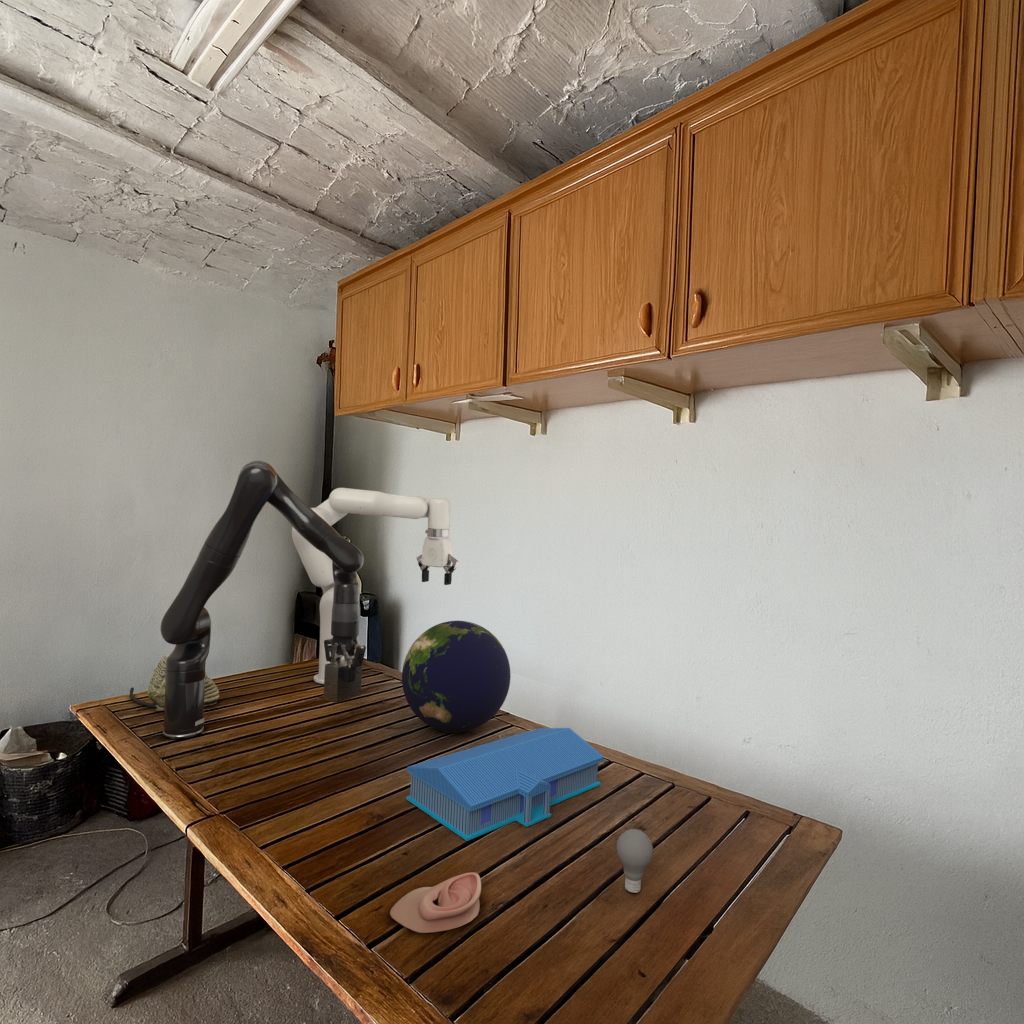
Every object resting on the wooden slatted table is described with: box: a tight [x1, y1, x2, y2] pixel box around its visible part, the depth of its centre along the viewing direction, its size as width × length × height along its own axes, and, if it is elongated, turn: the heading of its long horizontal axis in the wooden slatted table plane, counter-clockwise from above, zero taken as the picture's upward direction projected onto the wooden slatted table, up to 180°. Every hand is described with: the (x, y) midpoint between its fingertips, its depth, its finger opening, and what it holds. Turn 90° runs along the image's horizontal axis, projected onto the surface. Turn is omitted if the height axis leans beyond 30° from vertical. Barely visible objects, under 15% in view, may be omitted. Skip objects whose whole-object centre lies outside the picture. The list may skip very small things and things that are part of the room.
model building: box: [405, 727, 605, 842], centre depth 138 cm, size 39×24×10 cm, turn 132°
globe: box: [401, 620, 512, 734], centre depth 175 cm, size 30×30×30 cm
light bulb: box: [615, 828, 654, 894], centre depth 106 cm, size 6×6×10 cm
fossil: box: [147, 654, 221, 712], centre depth 185 cm, size 9×18×15 cm, turn 132°
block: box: [323, 659, 363, 704], centre depth 175 cm, size 5×9×10 cm, turn 150°
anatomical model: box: [389, 871, 482, 934], centre depth 98 cm, size 13×4×12 cm
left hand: (343, 679), depth 175 cm, fingers closed on block, 5 cm apart
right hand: (436, 583), depth 220 cm, fingers open, 9 cm apart
